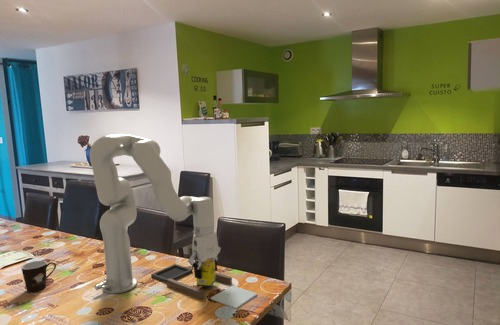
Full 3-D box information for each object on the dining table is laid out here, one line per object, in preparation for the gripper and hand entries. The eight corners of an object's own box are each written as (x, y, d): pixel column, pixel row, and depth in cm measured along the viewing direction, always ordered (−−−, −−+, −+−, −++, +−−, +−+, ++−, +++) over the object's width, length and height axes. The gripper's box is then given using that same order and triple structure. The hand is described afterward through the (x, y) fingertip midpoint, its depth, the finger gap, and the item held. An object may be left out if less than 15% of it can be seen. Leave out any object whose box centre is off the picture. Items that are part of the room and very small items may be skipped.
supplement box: (211, 287, 134) (210, 259, 133) (196, 286, 136) (195, 259, 134) (216, 280, 140) (215, 253, 139) (201, 279, 141) (200, 253, 140)
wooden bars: (202, 299, 128) (202, 293, 128) (167, 285, 140) (166, 279, 140) (231, 283, 141) (231, 277, 140) (196, 271, 153) (196, 265, 153)
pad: (236, 308, 121) (236, 307, 121) (210, 299, 128) (210, 297, 128) (257, 294, 130) (257, 293, 130) (232, 286, 138) (232, 285, 138)
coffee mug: (22, 296, 136) (19, 271, 135) (24, 287, 143) (22, 263, 142) (57, 288, 141) (54, 264, 140) (57, 280, 149) (55, 257, 147)
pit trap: (168, 283, 142) (168, 280, 142) (151, 277, 149) (151, 274, 149) (192, 272, 152) (192, 269, 152) (175, 266, 159) (175, 263, 159)
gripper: (194, 237, 126) (196, 285, 128) (226, 225, 140) (228, 268, 142) (179, 234, 131) (182, 279, 133) (212, 222, 145) (214, 264, 147)
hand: (206, 273), depth 137 cm, fingers closed on supplement box, 7 cm apart
